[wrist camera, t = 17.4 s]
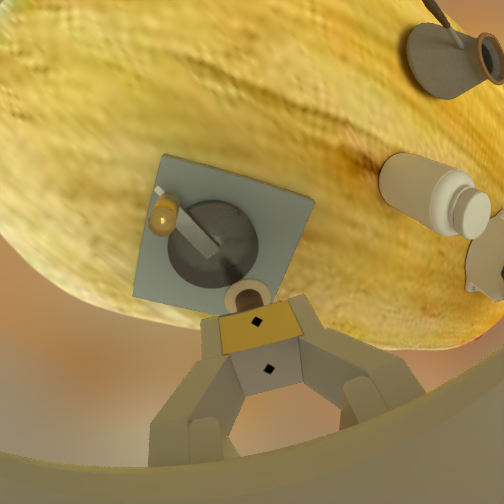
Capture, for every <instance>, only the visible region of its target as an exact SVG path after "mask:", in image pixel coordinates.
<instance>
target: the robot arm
mask: <svg viewBox="0 0 504 504" xmlns="http://www.w3.org/2000/svg"><path fill="white" fill-rule="evenodd" d="M465 270H466V277H467V279H466V284H465V290H467V291H468V292H478V291H481V292H482V293H483V294H485V295H486V296H487V297H488V298H490V299H491V300H492V301H494V302H496V301H501V300H504V209H502V210H501V211H500V212H499V213H498V214H497V215H496V216H495V217H493V218H491V219H489V221H488V224H487V226H486V228H485V230H484V231H483V232H482V234H481V235H480V236H479V237H477V238H475V239H473V241H472V243H471V245H470V248H469V251H468V254H467V258H466V266H465ZM200 326H201V349H202V350H201V352H202V360H200V361H196V363H195V364H194V366H193V367H192V368H191V370H190V371H189V372H188V374H187V375H186V376H185V378H184V379H183V381H182V382H181V383H180V385H179V386H178V387H177V389H176V390H175V391H174V393H173V394H172V395H171V397H170V398H169V399H168V401H167V402H166V403H165V405H164V406H163V407H162V409H161V410H160V411H159V413H158V414H157V415H156V417H155V418H154V419H153V420H152V422H151V423H150V437H149V457H148V467H98V466H84V465H73V464H64V463H56V462H50V461H42V460H37V459H32V458H27V457H21V456H17V455H13V454H8V453H4V452H0V504H504V344H503V345H502V346H501V347H499V348H498V349H497V350H495V351H494V352H492V353H491V354H489V355H488V356H487V357H485V358H484V359H482V360H481V361H479V362H478V363H476V364H475V365H473V366H472V367H470V368H469V369H467V370H466V371H464V372H462V373H461V374H459V375H457V376H456V377H454V378H452V379H451V380H449V381H447V382H445V383H444V384H442V385H440V386H439V387H436V388H435V389H433V390H431V391H429V392H427V393H426V392H425V390H424V389H423V387H422V386H421V385H420V383H419V382H418V380H417V379H416V377H415V376H414V374H413V373H412V372H411V370H410V369H409V367H408V366H407V364H406V363H405V362H404V360H403V359H402V358H400V357H398V356H395V355H393V354H390V353H388V352H385V351H383V350H381V349H378V348H376V347H374V346H371V345H369V344H366V343H364V342H362V341H359V340H357V339H355V338H352V337H350V336H348V335H345V334H343V333H341V332H339V331H336V330H334V329H332V328H326V329H324V327H323V326H322V324H321V322H320V320H319V318H318V317H317V315H316V313H315V311H314V309H313V308H312V306H311V304H310V302H309V301H308V299H307V297H306V295H304V294H302V295H299V296H296V297H292V298H289V299H287V300H284V301H280V302H277V303H273V304H269V305H265V306H261V307H257V308H254V309H253V308H252V309H248V310H243V311H239V312H234V313H230V314H225V315H220V316H216V317H212V318H207V319H202V320H201V323H200ZM301 382H304V384H306V385H307V386H309V387H310V388H311V389H313V390H314V391H316V392H317V393H318V394H320V395H321V396H323V397H324V398H325V399H327V400H328V401H330V402H331V403H333V404H334V405H335V406H337V407H338V408H340V409H341V416H340V426H339V431H337V432H335V433H332V434H329V435H326V436H322V437H319V438H316V439H313V440H310V441H306V442H303V443H299V444H296V445H292V446H288V447H284V448H281V449H276V450H272V451H268V452H263V453H259V454H254V455H249V456H244V457H240V455H239V454H238V452H237V451H236V449H235V447H234V446H233V444H232V442H231V441H230V439H229V437H228V436H229V433H230V431H231V429H232V427H233V425H234V423H235V420H236V418H237V416H238V414H239V411H240V409H241V407H242V404H243V402H244V400H245V397H246V396H250V395H254V394H258V393H262V392H265V391H269V390H273V389H276V388H281V387H285V386H289V385H293V384H297V383H301Z"/></svg>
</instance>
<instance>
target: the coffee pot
mask: <svg viewBox="0 0 504 504" xmlns="http://www.w3.org/2000/svg"><path fill="white" fill-rule="evenodd" d="M422 1H423V3H424V4H425V6H426V8H427V9H428V10H429V11H430V12H431V13H432V14H433V15H434V16H435V17H436V19H437V20H438V21H439V22H440V23H441V24H442V25H443V26H440V25H437V24H433V23H421V24H420V25H418V26H416V27H415V28H414V29H413V30H412V32H411V33H410V35H409V37H408V40H407V45H406V53H407V59H408V63H409V66H410V69H411V71H412V73H413V75H414V77H415V78H416V80H417V81H418V83H419V84H420V85H421V86H422V88H424V89H425V90H426V91H427V92H429V93H430V94H431V95H433V96H435V97H437V98H439V99H444V100H450V99H453V98H456V97H458V96H460V95H461V94H463V93H465V92H466V91H468V90H470V89H471V88H473V87H475V86H476V85H478V84H480V83H481V82H483V81H485V80H487V79H488V80H490V81H491V82H492V83H493V84H495V85H502V84H503V83H504V52H503V49H502V48H501V45H500V43H499V42H498V40H497V38H496V37H495V36H494V35H492V34H489V33H482V34H480V35H479V36H478V38H473V37H471V36H468V35H466V34H463V33H460V32H458V31H455V30H453V28H452V27H451V26H450V23H449V22H448V20H447V19H446V17H445V15H444V14H443V12H442V11H441V9H440V8H439V6H438V5H437V4H436V2H435V1H434V0H422Z"/></svg>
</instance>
